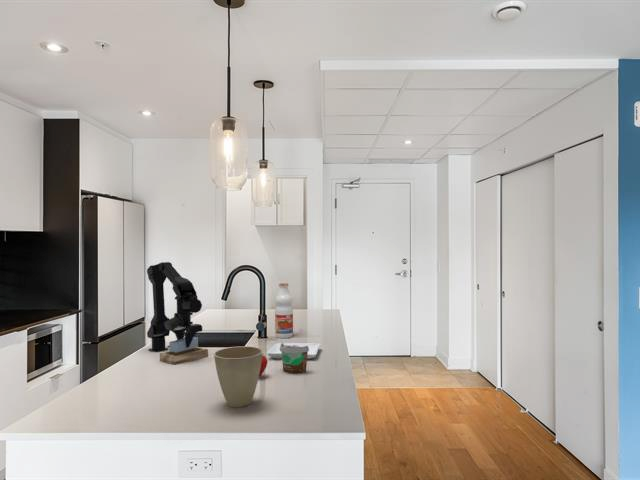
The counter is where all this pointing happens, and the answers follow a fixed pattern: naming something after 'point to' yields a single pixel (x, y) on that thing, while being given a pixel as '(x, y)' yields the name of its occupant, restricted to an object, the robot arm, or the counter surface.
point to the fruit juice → (283, 313)
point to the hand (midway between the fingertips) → (184, 346)
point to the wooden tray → (183, 355)
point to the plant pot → (238, 373)
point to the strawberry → (263, 364)
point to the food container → (294, 358)
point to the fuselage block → (182, 345)
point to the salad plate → (277, 353)
